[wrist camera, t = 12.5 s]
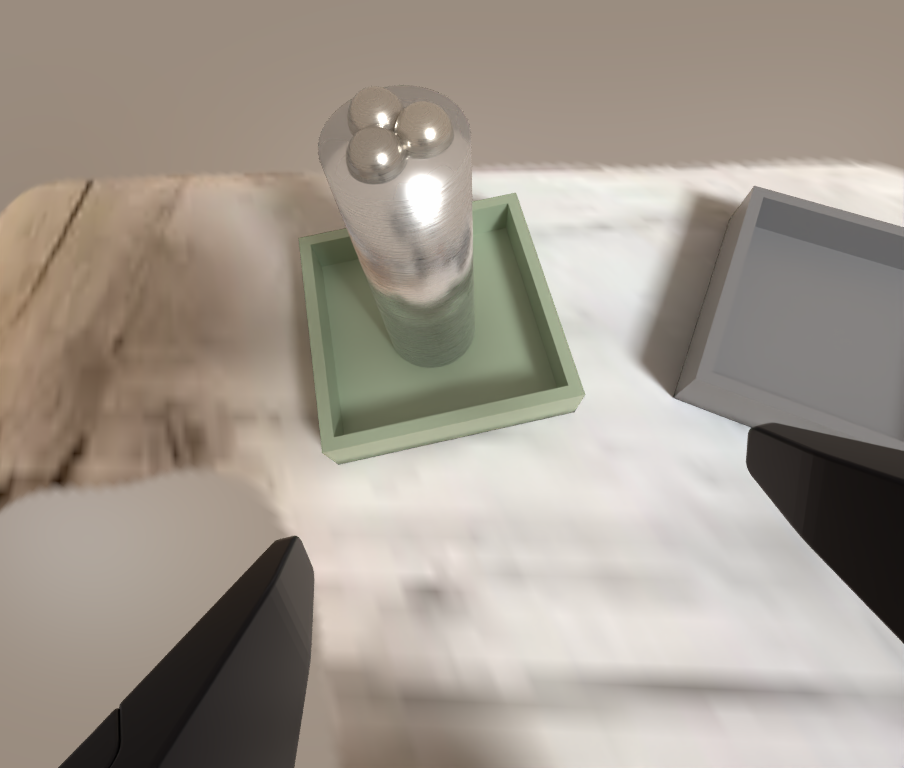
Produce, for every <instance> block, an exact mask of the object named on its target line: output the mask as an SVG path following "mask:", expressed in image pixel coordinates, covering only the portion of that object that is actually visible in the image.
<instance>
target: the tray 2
mask: <svg viewBox="0 0 904 768" xmlns="http://www.w3.org/2000/svg"><path fill="white" fill-rule="evenodd" d="M673 398H675V399H678V400H681V401H683V402H686V403H688V404H691V405H694V406H696V407H699V408H702V409H704V410H707V411H709V412H712V413H715V414H717V415H720V416H723V417H725V418H728V419H731V420H733V421H736V422H738V423H741V424H744V425H746V426H749V427H754V426H757V425H761V424H765V423H770V422H774V423H780V424H784V425H789V426H793V427H798V428H802V429H807V430H812V431H816V432H821V433H825V434H830V435H834V436H839V437H843V438H848V439H853V440H857V441H862V442H866V443H871V444H875V445H880V446H885V447H889V448H894V449H898V450H903V451H904V227H901V226H897V225H893V224H890V223H886V222H883V221H879V220H875V219H872V218H868V217H865V216H861V215H858V214H854V213H850V212H847V211H843V210H840V209H836V208H832V207H829V206H825V205H822V204H818V203H815V202H811V201H807V200H804V199H800V198H797V197H793V196H789V195H786V194H782V193H779V192H775V191H771V190H768V189H764V188H761V187H757V186H754V187H753V188H752V190H751V191H750V192H749V194H748V195H747V196H746V198H745V199H744V201H743V202H742V203H741V205H740V206H739V207H738V209H737V210H736V211H735V213H734V214H733V216H732V217H731V218H730V220H729V223H728V227H727V230H726V233H725V236H724V239H723V242H722V246H721V249H720V252H719V255H718V258H717V261H716V265H715V268H714V271H713V274H712V277H711V280H710V283H709V287H708V290H707V293H706V296H705V299H704V302H703V306H702V309H701V312H700V315H699V318H698V321H697V324H696V328H695V331H694V334H693V337H692V340H691V343H690V347H689V350H688V353H687V356H686V359H685V362H684V366H683V369H682V372H681V375H680V378H679V381H678V384H677V388H676V391H675V394H674V397H673Z"/></svg>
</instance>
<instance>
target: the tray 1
mask: <svg viewBox="0 0 904 768" xmlns="http://www.w3.org/2000/svg"><path fill="white" fill-rule="evenodd" d="M472 218H473V266H474V313H475V333H474V338H473V341H472V343H471V345H470V347H469V348H468V350H467V351H466V352H465V353H464V354H463V355H462V356H461V357H460V358H459V359H457V360H456V361H454V362H452V363H450V364H448V365H445V366H441V367H436V368H426V367H420V366H416V365H414V364H411V363H409V362H408V361H406V360H405V359H403V358H402V357H401V356H400V355H399V354H398V353H397V351H396V350H395V348H394V346H393V344H392V341H391V339H390V336H389V334H388V331H387V329H386V326H385V324H384V321H383V319H382V316H381V314H380V311H379V309H378V306H377V304H376V301H375V299H374V296H373V294H372V291H371V289H370V286H369V283H368V281H367V278H366V276H365V273H364V271H363V268H362V266H361V263H360V261H359V258H358V256H357V253H356V251H355V248H354V246H353V243H352V241H351V238H350V236H349V233H348V231H347V228H345V229H340V230H335V231H330V232H325V233H321V234H316V235H311V236H306V237H302V238H299V247H300V256H301V265H302V274H303V284H304V293H305V302H306V311H307V320H308V329H309V338H310V347H311V356H312V365H313V374H314V383H315V392H316V401H317V411H318V420H319V429H320V438H321V447H322V453H323V454H324V455H326V456H327V457H329V458H330V459H331V460H333V461H334V462H336V463H337V464H338V465H339V464H343V463H348V462H352V461H357V460H361V459H366V458H370V457H375V456H379V455H384V454H388V453H393V452H397V451H402V450H406V449H411V448H415V447H420V446H424V445H429V444H433V443H438V442H442V441H447V440H451V439H456V438H460V437H465V436H469V435H474V434H478V433H483V432H487V431H491V430H496V429H500V428H505V427H509V426H514V425H518V424H523V423H527V422H532V421H536V420H541V419H545V418H550V417H554V416H559V415H563V414H568V413H572V412H575V410H576V409H577V407H578V405H579V404H580V402H581V401H582V399H583V397H584V396H585V393H584V390H583V387H582V384H581V381H580V378H579V375H578V372H577V369H576V366H575V363H574V360H573V358H572V355H571V352H570V349H569V346H568V343H567V340H566V337H565V334H564V331H563V328H562V326H561V323H560V320H559V317H558V314H557V311H556V308H555V305H554V302H553V299H552V296H551V294H550V291H549V288H548V285H547V282H546V279H545V276H544V273H543V270H542V267H541V264H540V262H539V259H538V256H537V253H536V250H535V247H534V244H533V241H532V238H531V235H530V232H529V230H528V227H527V224H526V221H525V218H524V215H523V212H522V209H521V206H520V203H519V200H518V197H517V195H516V193H512V194H507V195H502V196H497V197H493V198H488V199H483V200H478V201H474V202H472Z"/></svg>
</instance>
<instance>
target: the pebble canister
mask: <svg viewBox="0 0 904 768" xmlns="http://www.w3.org/2000/svg"><path fill="white" fill-rule="evenodd" d="M318 155H319V160H320V163H321V165H322V168H323V170H324V173H325V175H326V178H327V180H328V183H329V185H330V188H331V190H332V193H333V195H334V198H335V201H336V203H337V206H338V208H339V211H340V213H341V216H342V218H343V221H344V223H345V226H346V228H347V231H348V233H349V236H350V238H351V241H352V243H353V246H354V248H355V251H356V253H357V256H358V258H359V261H360V263H361V266H362V268H363V271H364V273H365V276H366V278H367V281H368V283H369V286H370V289H371V291H372V294H373V296H374V299H375V301H376V304H377V306H378V309H379V311H380V314H381V316H382V319H383V321H384V324H385V326H386V329H387V331H388V334H389V336H390V339H391V341H392V344H393V346H394V348H395V350H396V351H397V353H398V354H399V355H400V356H401V357H402V358H403V359H405V360H406V361H408V362H409V363H411V364H414V365H416V366H420V367H426V368H436V367H441V366H445V365H448V364H450V363H452V362H454V361H456V360H457V359H459V358H460V357H461V356H462V355H463V354H464V353H465V352H466V351H467V350H468V348H469V347H470V345H471V343H472V341H473V338H474V333H475V313H474V266H473V218H472V170H471V131H470V126H469V123H468V120H467V118H466V116H465V114H464V113H463V111H462V110H461V109H460V108H459V106H458V105H457V104H456V103H454V102H453V101H452V100H451V99H449V98H448V97H446V96H445V95H442V94H440V93H439V92H436V91H433V90H431V89H427V88H423V87H417V86H406V85H399V86H388V87H377V86H372V87H368V88H365V89H362V90H361V91H359V92H358V93H357V94H356V95H355V96H354V98H353V99H351V100H349V101H348V102H346V103H345V104H343V105H342V106H341V107H340V108H339V109H337V110H336V111H335V112H334V113H333V114H332V116H331V117H330V118H329V120H328V121H327V122H326V124H325V126H324V127H323V129H322V131H321V134H320V138H319V143H318Z"/></svg>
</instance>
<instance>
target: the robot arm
mask: <svg viewBox="0 0 904 768" xmlns="http://www.w3.org/2000/svg"><path fill="white" fill-rule="evenodd" d="M746 464H747V468H748V470H749V472H750V474H751V476H752V477H753V478H754V479H755V481H756V482H757V483H758V484H759V486H760V487H761V488H762V489H763V491H764V492H765V493H766V494H767V496H768V497H769V498H770V499H771V501H772V502H773V503H774V504H775V506H776V507H777V508H778V509H779V511H780V512H781V513H782V514H783V516H784V517H785V518H786V519H787V521H788V522H789V523H790V524H791V526H792V527H793V528H794V529H795V530H796V531H797V533H798V534H799V535H800V536H801V537H802V538H803V540H804V541H805V542H806V543H807V544H808V545H809V546H810V547H811V548H812V549H813V550H814V551H815V552H816V553H817V554H818V555H819V557H820V558H821V559H822V560H823V561H824V562H825V563H826V564H827V565H828V566H829V567H830V568H831V569H832V570H833V571H834V572H835V573H836V574H837V575H838V576H839V577H840V578H841V579H842V580H843V581H844V582H845V583H846V584H847V585H848V587H849V588H850V589H851V590H852V591H853V592H854V593H855V594H856V595H857V596H858V597H859V598H860V599H861V600H862V601H863V602H864V603H865V604H866V605H867V606H868V607H869V608H870V609H871V610H872V611H873V612H874V613H875V614H876V615H877V616H878V618H879V619H880V620H881V621H882V622H883V623H884V624H885V625H886V626H887V627H888V628H889V629H890V630H891V631H892V632H893V633H894V634H895V635H896V636H897V637H898V638H899V639H900V640H901V641H902V642H903V643H904V451H903V450H898V449H894V448H889V447H885V446H880V445H875V444H871V443H866V442H862V441H857V440H853V439H848V438H843V437H839V436H834V435H830V434H825V433H821V432H816V431H812V430H807V429H802V428H798V427H793V426H789V425H784V424H780V423H774V422H770V423H765V424H761V425H757V426H754V427H752V428H751V429H750V430H749V432H748V441H747V455H746ZM313 599H314V571H313V567H312V565H311V562H310V560H309V558H308V555H307V553H306V550H305V548H304V546H303V543H302V541H301V540H300V538H299V537H297V536H291V537H287V538H282V539H279V540H276V541H275V542H274V543H273V544H272V545H271V546H270V547H269V548H268V549H267V550H266V551H265V552H264V553H263V554H262V555H261V556H260V557H259V558H258V559H257V560H256V562H255V563H254V564H253V565H252V566H251V567H250V568H249V569H248V570H247V571H246V572H245V573H244V574H243V575H242V576H241V577H240V578H239V579H238V580H237V582H235V583H234V585H233V586H232V587H231V588H230V589H229V590H228V591H227V592H226V593H225V594H224V595H223V596H222V597H221V598H220V599H219V600H218V601H217V603H216V604H215V605H214V606H213V607H212V608H211V609H210V610H209V611H208V612H207V613H206V614H205V615H204V616H203V617H202V618H201V619H200V621H198V623H196V625H195V626H194V627H193V628H192V629H191V630H190V631H189V632H188V633H187V634H186V635H185V636H184V637H183V638H182V639H181V640H180V641H179V642H178V643H177V644H176V646H175V647H174V648H173V649H172V650H171V651H170V652H169V653H168V654H167V655H166V656H165V657H164V658H163V659H162V660H161V661H160V662H159V663H158V665H157V666H156V667H155V668H154V669H153V670H152V671H151V672H150V673H149V674H148V675H147V676H146V677H145V678H144V679H143V680H142V681H141V682H140V683H139V684H138V685H137V687H136V688H135V689H134V690H133V691H132V692H131V693H130V694H129V695H128V696H127V697H126V698H125V699H124V700H123V701H122V702H121V704H120V707H119V709H118V708H117V709H115V710H114V711H113V712H112V713H111V714H110V715H109V716H108V717H107V718H106V719H105V720H104V721H103V722H102V723H101V724H100V725H99V726H98V727H97V729H95V731H94V732H93V733H92V734H91V735H90V736H89V737H88V738H87V739H86V740H85V741H84V742H83V743H82V744H81V745H80V746H79V747H78V748H77V749H76V750H75V751H74V752H73V753H72V754H71V755H70V756H69V757H68V758H67V759H66V760H65V761H64V762H63V763H62V764H61V765H60V766H59V767H58V768H294V766H295V759H296V752H297V746H298V739H299V732H300V726H301V719H302V714H303V707H304V701H305V694H306V688H307V681H308V675H309V667H310V659H311V645H312V622H313Z"/></svg>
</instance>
